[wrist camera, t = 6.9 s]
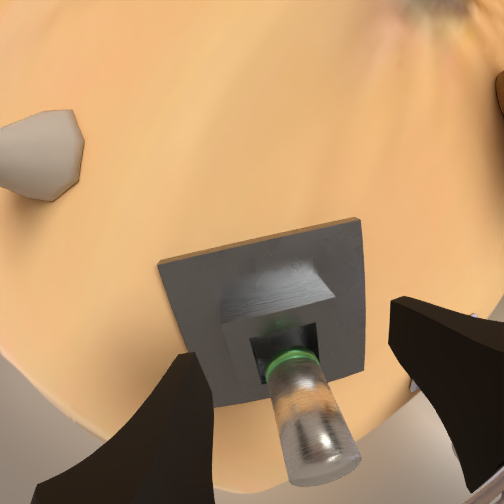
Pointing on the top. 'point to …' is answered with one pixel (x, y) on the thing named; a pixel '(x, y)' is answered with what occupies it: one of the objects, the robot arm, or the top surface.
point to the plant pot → (500, 90)
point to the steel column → (308, 419)
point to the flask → (41, 154)
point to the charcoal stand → (271, 305)
